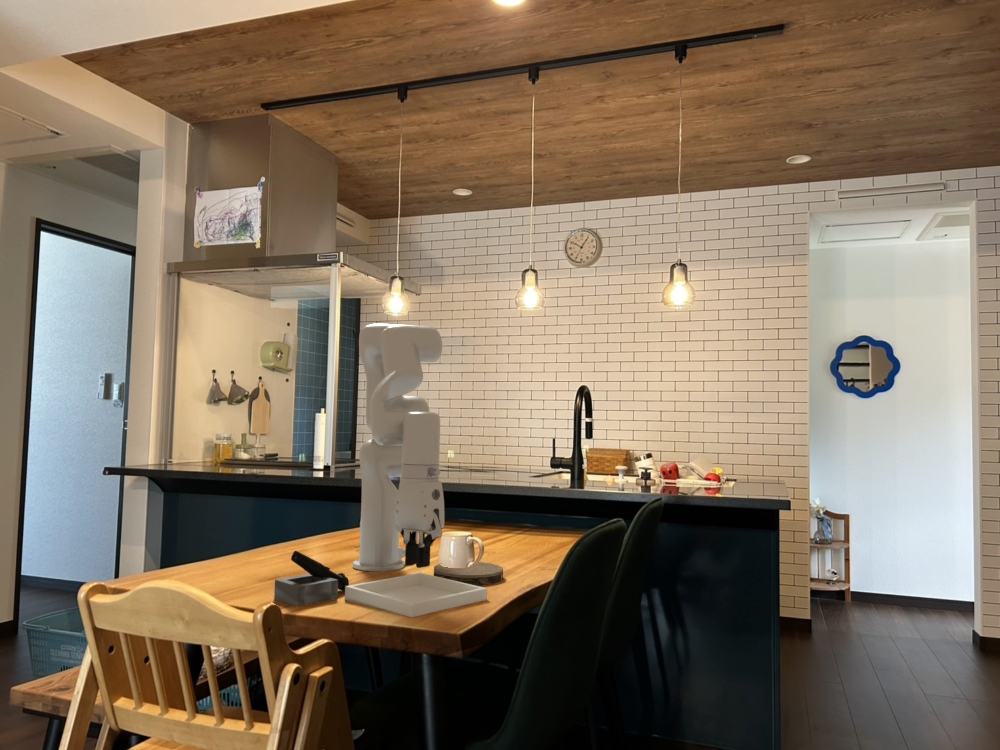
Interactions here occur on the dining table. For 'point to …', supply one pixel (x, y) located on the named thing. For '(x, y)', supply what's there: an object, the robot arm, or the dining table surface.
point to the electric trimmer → (319, 569)
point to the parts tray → (414, 594)
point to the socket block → (305, 589)
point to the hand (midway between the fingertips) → (417, 564)
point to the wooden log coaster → (472, 573)
